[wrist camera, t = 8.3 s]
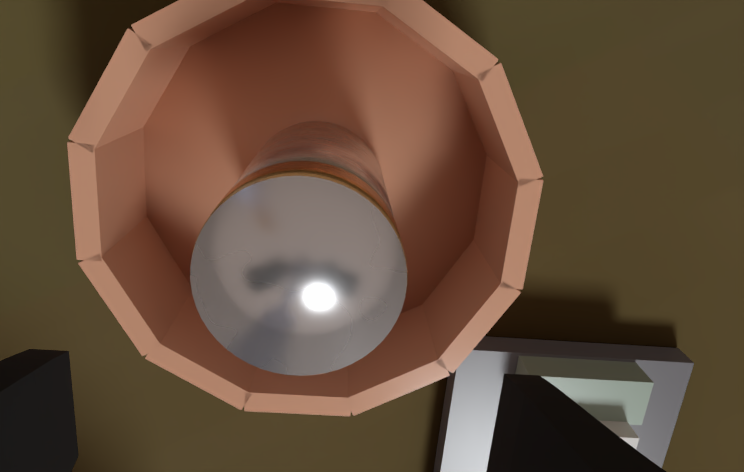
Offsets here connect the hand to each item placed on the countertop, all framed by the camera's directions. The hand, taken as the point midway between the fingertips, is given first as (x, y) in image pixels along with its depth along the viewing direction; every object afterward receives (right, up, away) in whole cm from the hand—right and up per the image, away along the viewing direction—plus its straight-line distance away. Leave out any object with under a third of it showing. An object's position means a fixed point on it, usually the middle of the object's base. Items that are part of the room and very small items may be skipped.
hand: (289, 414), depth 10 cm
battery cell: (0, +4, +8) cm, 9 cm away
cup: (0, +5, +8) cm, 9 cm away
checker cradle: (+8, -5, +12) cm, 15 cm away
